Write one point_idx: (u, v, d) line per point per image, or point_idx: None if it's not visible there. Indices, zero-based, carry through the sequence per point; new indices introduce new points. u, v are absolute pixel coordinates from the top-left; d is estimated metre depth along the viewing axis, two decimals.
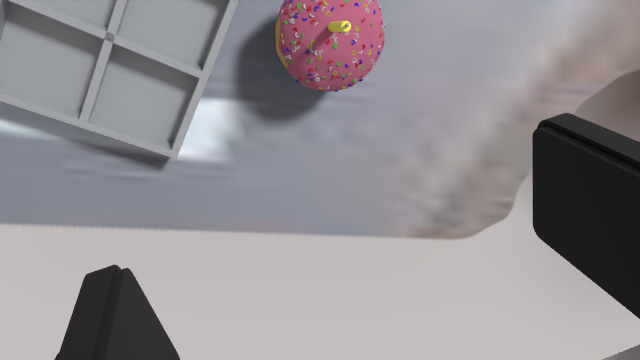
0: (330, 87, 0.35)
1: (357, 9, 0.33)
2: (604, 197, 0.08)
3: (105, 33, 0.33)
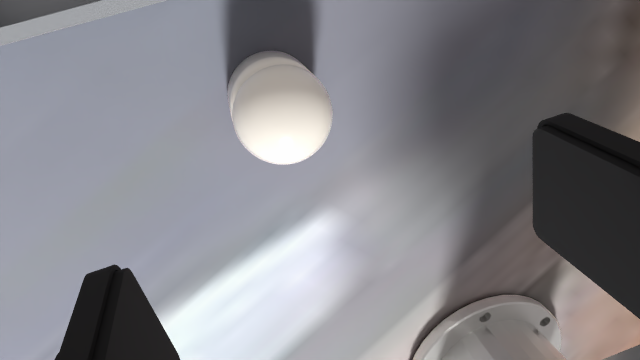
0: None
1: None
2: (604, 197, 0.08)
3: None
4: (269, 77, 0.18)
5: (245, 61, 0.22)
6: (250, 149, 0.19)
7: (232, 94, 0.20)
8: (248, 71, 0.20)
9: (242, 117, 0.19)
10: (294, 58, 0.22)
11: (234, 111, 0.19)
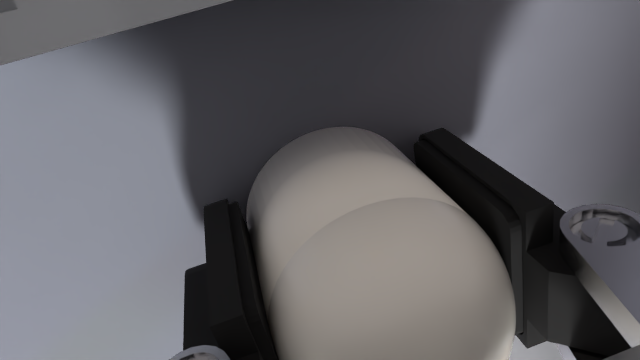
0: None
1: None
2: None
3: None
4: (377, 251, 0.07)
5: (287, 154, 0.10)
6: None
7: (265, 250, 0.09)
8: (305, 202, 0.08)
9: (301, 354, 0.07)
10: (390, 145, 0.10)
11: (276, 321, 0.07)
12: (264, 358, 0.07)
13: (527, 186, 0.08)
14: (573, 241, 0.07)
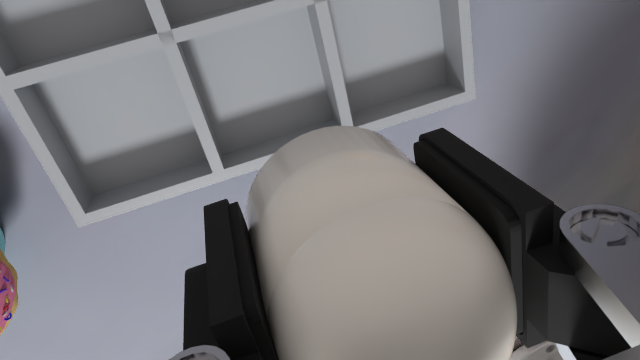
0: None
1: None
2: None
3: (175, 38, 0.20)
4: (378, 251, 0.07)
5: (287, 154, 0.10)
6: None
7: (264, 250, 0.09)
8: (305, 202, 0.08)
9: (301, 355, 0.07)
10: (390, 144, 0.10)
11: (276, 321, 0.07)
12: (264, 358, 0.07)
13: (527, 186, 0.08)
14: (573, 241, 0.07)
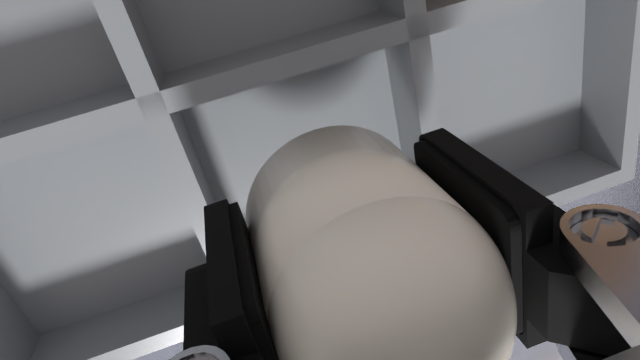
0: None
1: None
2: None
3: (168, 106, 0.11)
4: (378, 250, 0.07)
5: (287, 153, 0.10)
6: None
7: (264, 250, 0.09)
8: (305, 201, 0.08)
9: (301, 354, 0.07)
10: (390, 144, 0.10)
11: (275, 321, 0.07)
12: (264, 358, 0.07)
13: (527, 186, 0.08)
14: (573, 241, 0.07)
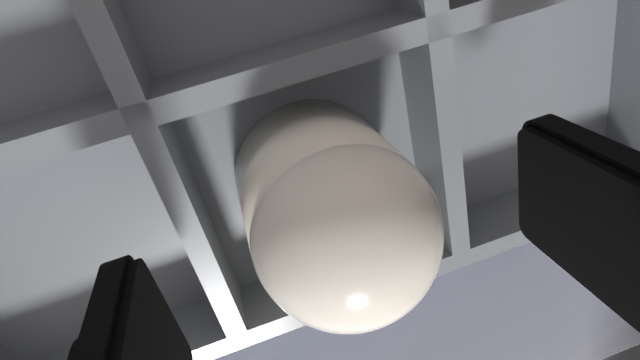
0: None
1: None
2: (585, 196, 0.09)
3: (156, 117, 0.10)
4: (330, 179, 0.09)
5: (268, 121, 0.12)
6: (287, 312, 0.10)
7: (247, 193, 0.11)
8: (279, 152, 0.10)
9: (273, 260, 0.09)
10: (354, 114, 0.12)
11: (255, 240, 0.09)
12: None
13: None
14: None
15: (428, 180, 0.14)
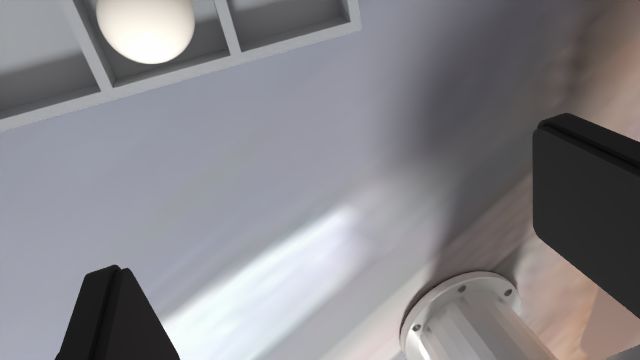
0: None
1: None
2: (604, 197, 0.08)
3: None
4: None
5: None
6: (112, 44, 0.21)
7: None
8: None
9: (101, 11, 0.20)
10: None
11: (96, 7, 0.21)
12: None
13: None
14: None
15: (217, 13, 0.25)
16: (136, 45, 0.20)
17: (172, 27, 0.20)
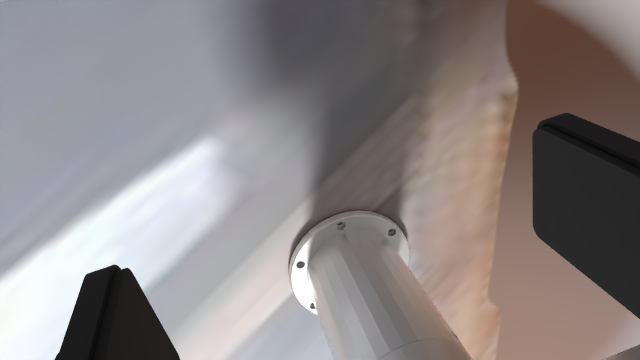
0: None
1: None
2: (604, 197, 0.08)
3: None
4: None
5: None
6: None
7: None
8: None
9: None
10: None
11: None
12: None
13: None
14: None
15: None
16: None
17: None
